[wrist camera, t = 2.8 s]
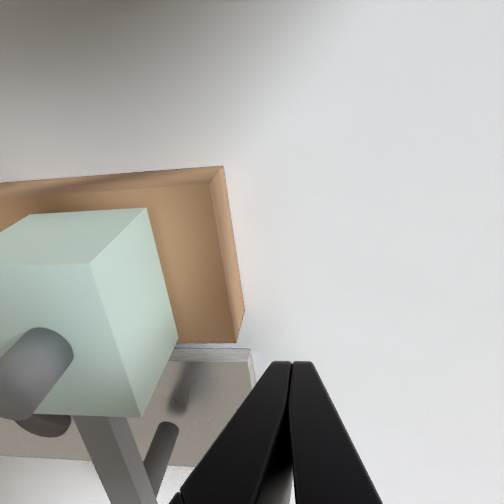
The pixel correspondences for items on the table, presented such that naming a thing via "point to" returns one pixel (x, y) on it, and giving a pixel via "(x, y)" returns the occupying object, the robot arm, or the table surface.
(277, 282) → the table surface
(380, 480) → the table surface
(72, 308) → the sliding leg
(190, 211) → the wood and metal assembly
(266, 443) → the robot arm
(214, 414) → the bolt plate
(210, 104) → the table surface
